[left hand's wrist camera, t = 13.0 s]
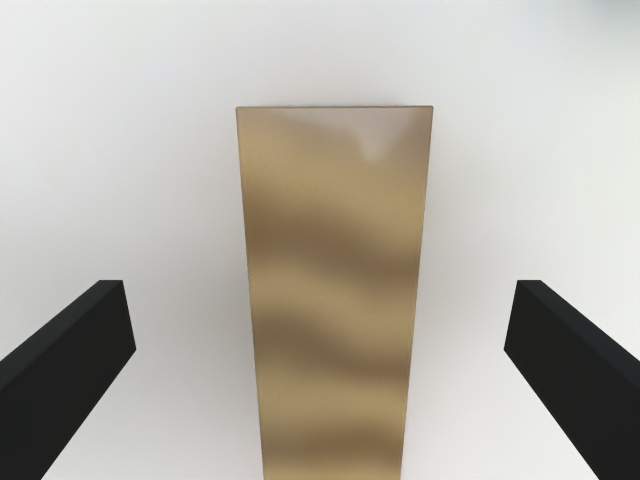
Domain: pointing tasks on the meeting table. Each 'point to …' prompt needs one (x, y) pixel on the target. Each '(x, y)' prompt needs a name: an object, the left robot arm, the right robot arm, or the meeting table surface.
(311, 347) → the wide beam
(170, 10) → the meeting table surface
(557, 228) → the meeting table surface
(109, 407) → the meeting table surface
